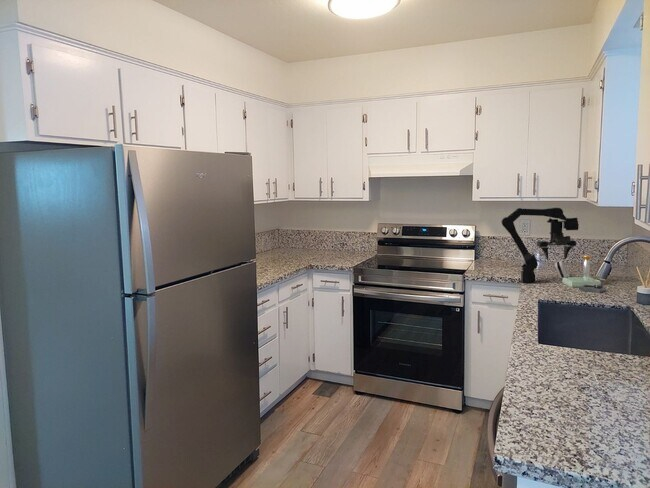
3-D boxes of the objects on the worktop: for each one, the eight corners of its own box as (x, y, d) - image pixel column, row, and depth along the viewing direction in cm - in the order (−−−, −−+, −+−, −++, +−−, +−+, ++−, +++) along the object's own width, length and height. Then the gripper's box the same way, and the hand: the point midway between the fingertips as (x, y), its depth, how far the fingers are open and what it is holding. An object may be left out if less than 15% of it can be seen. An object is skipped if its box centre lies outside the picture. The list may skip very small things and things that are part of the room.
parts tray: (572, 287, 238) (572, 281, 237) (562, 283, 250) (562, 277, 249) (600, 286, 236) (600, 281, 236) (589, 282, 248) (589, 277, 248)
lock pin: (586, 284, 239) (587, 256, 238) (579, 283, 243) (580, 255, 242) (592, 284, 240) (592, 255, 239) (585, 283, 244) (586, 255, 243)
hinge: (569, 278, 261) (562, 262, 262) (560, 281, 263) (554, 264, 264) (569, 274, 276) (563, 258, 276) (561, 276, 278) (555, 260, 279)
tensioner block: (579, 290, 230) (579, 284, 230) (585, 288, 234) (585, 282, 234) (599, 292, 222) (599, 286, 222) (605, 290, 227) (605, 284, 226)
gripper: (544, 232, 241) (543, 261, 243) (581, 231, 239) (581, 260, 241) (536, 230, 252) (536, 259, 254) (572, 229, 250) (571, 258, 252)
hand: (556, 259), depth 250 cm, fingers open, 9 cm apart
